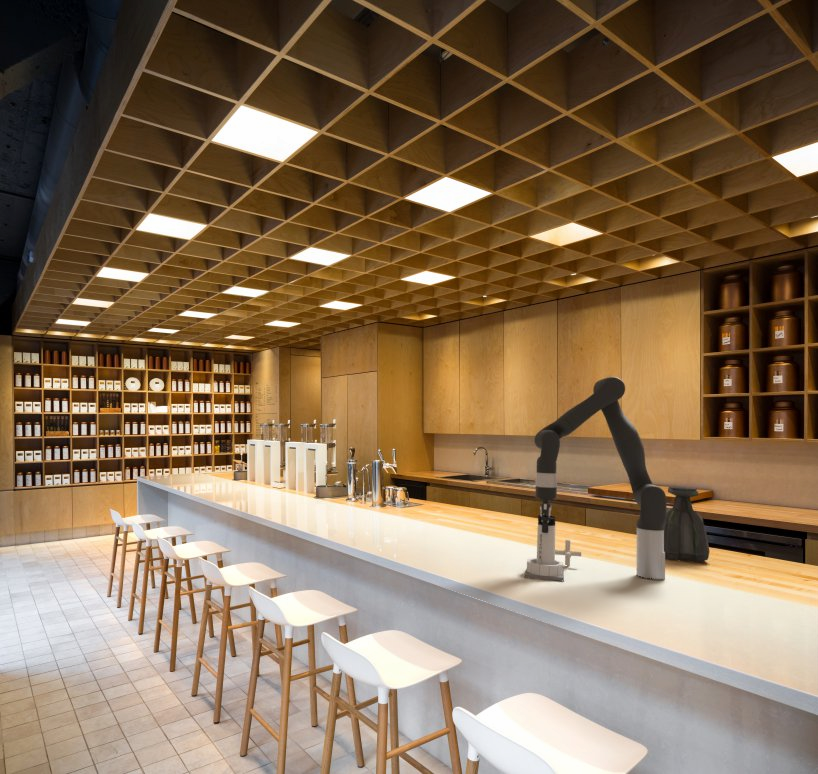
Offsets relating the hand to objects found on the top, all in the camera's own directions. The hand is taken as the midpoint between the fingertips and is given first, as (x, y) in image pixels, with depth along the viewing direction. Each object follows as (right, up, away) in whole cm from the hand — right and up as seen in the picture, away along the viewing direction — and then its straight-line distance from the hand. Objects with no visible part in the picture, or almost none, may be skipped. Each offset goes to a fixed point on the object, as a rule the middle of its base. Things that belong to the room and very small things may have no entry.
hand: (545, 531), depth 208 cm
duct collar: (-1, -15, -1) cm, 16 cm away
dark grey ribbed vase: (+68, -22, +40) cm, 82 cm away
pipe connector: (+12, -18, +15) cm, 26 cm away
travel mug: (0, -14, -1) cm, 14 cm away
